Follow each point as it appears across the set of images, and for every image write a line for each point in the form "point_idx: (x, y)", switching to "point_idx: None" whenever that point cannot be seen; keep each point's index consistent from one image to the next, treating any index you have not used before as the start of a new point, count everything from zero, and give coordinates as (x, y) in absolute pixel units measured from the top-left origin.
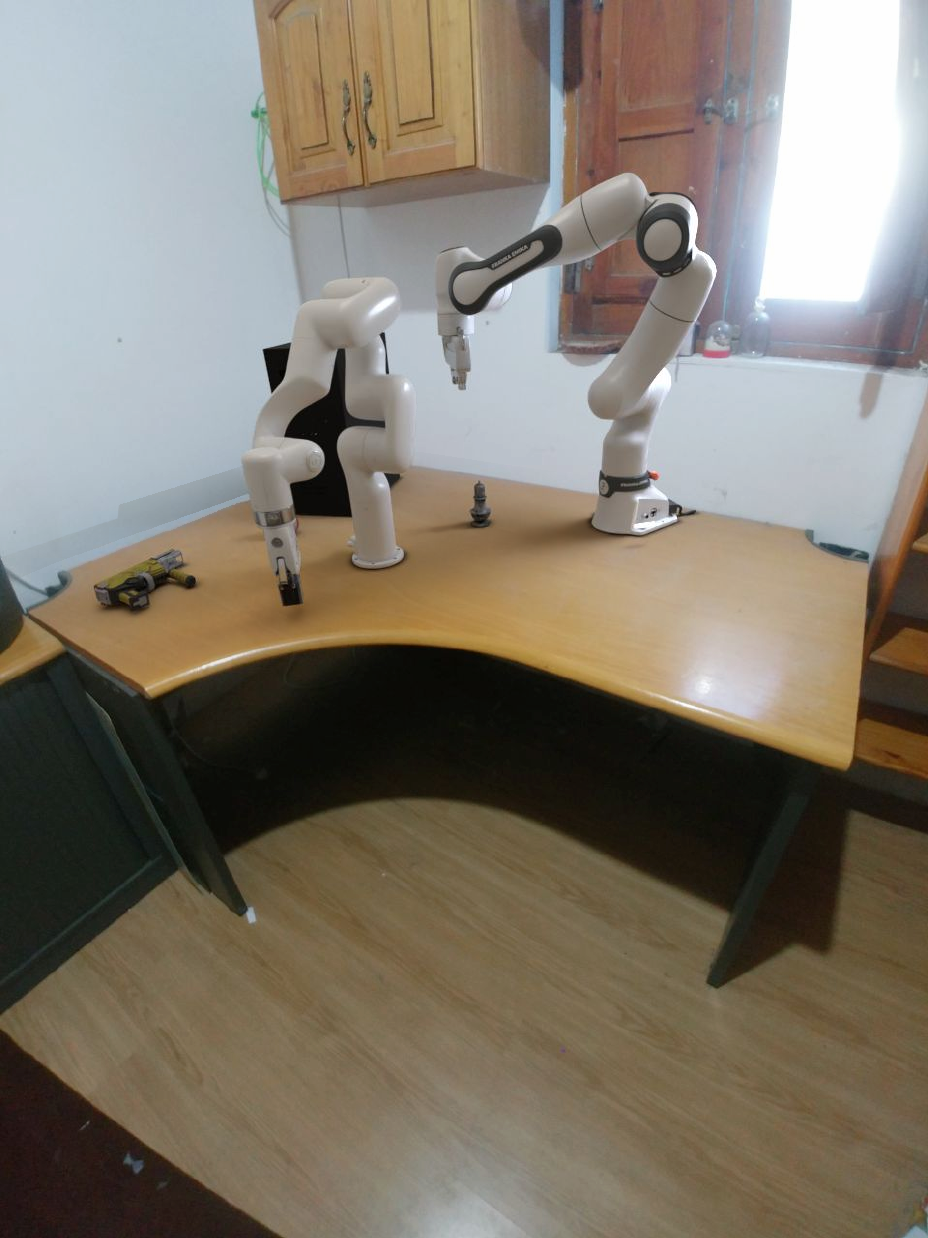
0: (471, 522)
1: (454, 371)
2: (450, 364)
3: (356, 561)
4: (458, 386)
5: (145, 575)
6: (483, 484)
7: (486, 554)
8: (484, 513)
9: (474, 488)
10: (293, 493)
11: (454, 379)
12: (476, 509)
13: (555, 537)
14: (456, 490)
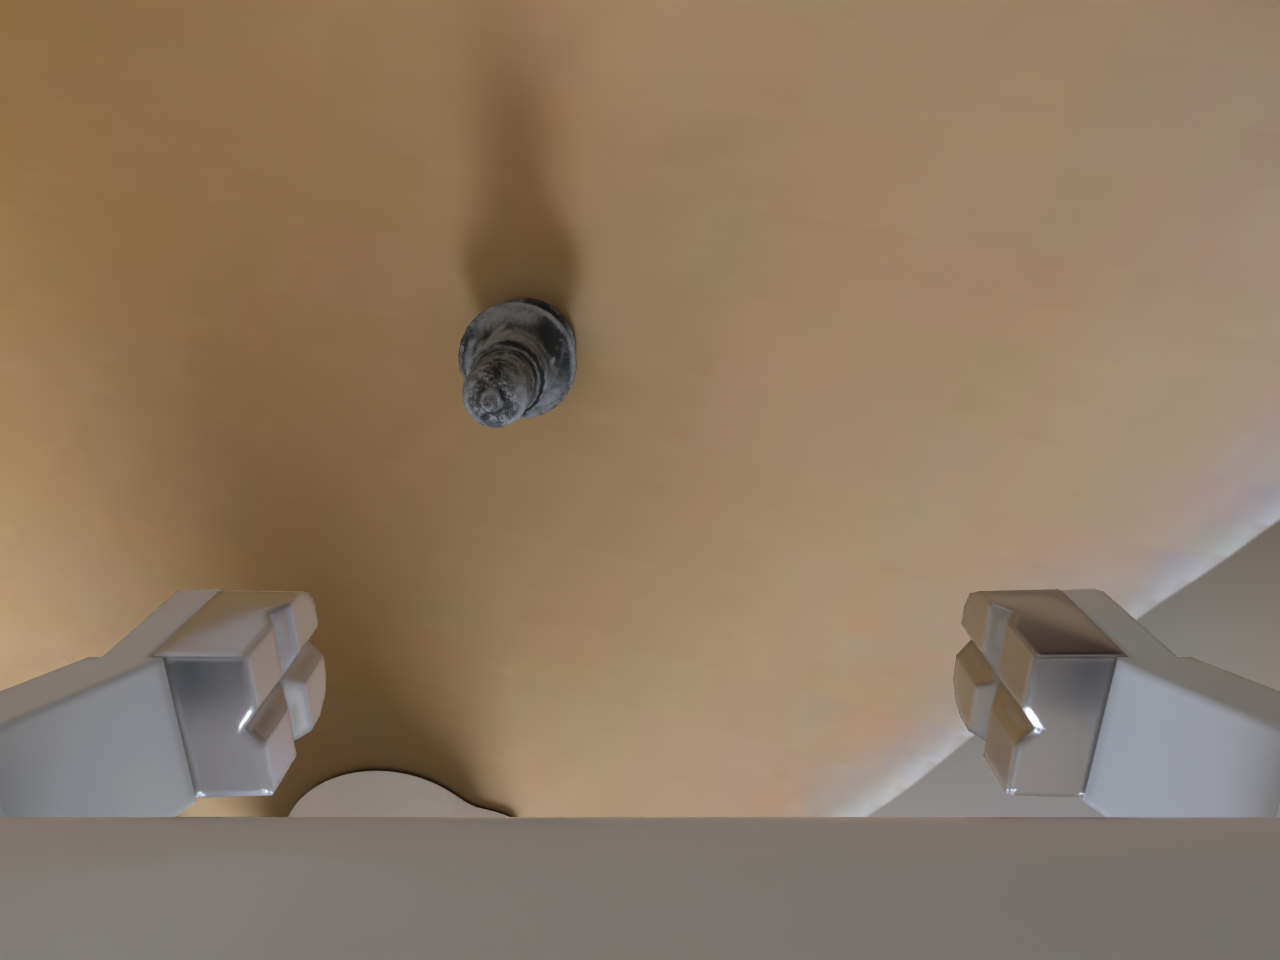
0: (537, 302)
1: (1237, 797)
2: (695, 862)
3: None
4: (204, 609)
5: None
6: (491, 423)
7: (139, 297)
8: (463, 373)
9: (487, 361)
10: None
11: (1006, 660)
12: (489, 339)
13: None
14: (1101, 312)
